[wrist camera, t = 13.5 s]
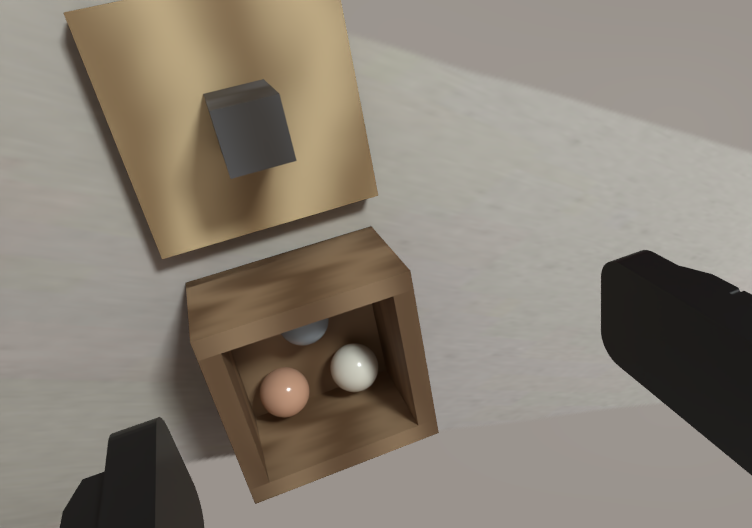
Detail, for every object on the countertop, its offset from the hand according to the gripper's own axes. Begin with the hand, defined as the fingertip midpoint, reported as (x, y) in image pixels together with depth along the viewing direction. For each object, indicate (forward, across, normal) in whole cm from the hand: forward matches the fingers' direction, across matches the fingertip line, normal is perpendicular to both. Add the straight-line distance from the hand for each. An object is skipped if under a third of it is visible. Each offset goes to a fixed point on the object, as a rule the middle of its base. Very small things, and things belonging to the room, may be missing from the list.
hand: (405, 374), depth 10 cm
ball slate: (+25, 0, +13) cm, 28 cm away
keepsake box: (+26, 0, +15) cm, 30 cm away
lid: (+26, 0, 0) cm, 26 cm away
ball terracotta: (+25, +2, +18) cm, 31 cm away
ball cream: (+25, -2, +18) cm, 31 cm away
